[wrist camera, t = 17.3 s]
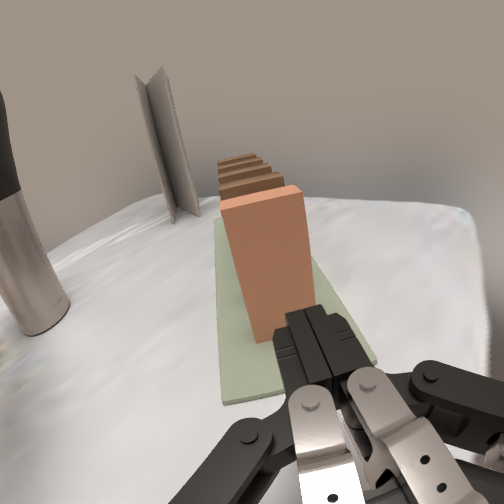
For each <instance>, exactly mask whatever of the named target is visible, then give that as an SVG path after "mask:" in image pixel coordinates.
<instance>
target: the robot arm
mask: <svg viewBox="0 0 504 504" xmlns="http://www.w3.org/2000/svg"><path fill="white" fill-rule="evenodd" d="M0 295H1V296H2V298H3V300H4V302H5V303H6V305H7V307H8V309H9V310H10V312H11V314H12V315H13V317H14V319H15V320H16V322H17V323H18V325H19V326H20V328H21V330H22V331H23V333H24V334H26V335H31V336H32V335H36V334H39V333H42V332H43V331H45V330H47V329H49V328H50V327H52V326H53V325H54V324H55V323H57V322H58V321H59V320H60V319H61V318H62V316H63V315H64V314H65V313H66V311H67V310H68V307H69V304H70V301H69V299H68V297H67V295H66V293H65V291H64V289H63V287H62V286H61V284H60V282H59V280H58V278H57V276H56V274H55V272H54V270H53V267H52V265H51V263H50V261H49V259H48V257H47V255H46V253H45V250H44V248H43V246H42V243H41V241H40V239H39V236H38V234H37V232H36V229H35V227H34V224H33V221H32V219H31V216H30V214H29V211H28V208H27V206H26V203H25V200H24V197H23V194H22V191H21V187H20V184H19V180H18V176H17V172H16V166H15V162H14V158H13V154H12V149H11V144H10V138H9V131H8V123H7V115H6V109H5V104H4V100H3V96H2V94H1V92H0ZM284 316H285V322H286V327H282V328H278V329H275V331H274V334H273V338H272V341H273V346H274V350H275V355H276V359H277V364H278V368H279V371H280V375H281V379H282V383H283V386H284V390H285V394H286V399H285V402H284V404H283V405H282V407H281V408H280V409H279V410H278V411H276V412H275V413H273V414H272V415H270V416H268V417H266V418H264V419H262V420H261V419H258V418H244V419H241V420H239V421H237V422H235V423H234V424H233V425H232V426H231V427H230V428H229V429H228V431H227V432H226V433H225V435H224V436H223V437H222V439H221V440H220V441H219V443H218V444H217V445H216V446H215V448H214V449H213V450H212V452H211V453H210V454H209V455H208V457H207V458H206V459H205V461H204V462H203V463H202V464H201V466H200V467H199V468H198V469H197V470H196V472H195V473H194V474H193V475H192V477H191V478H190V479H189V480H188V481H187V482H186V484H185V485H184V486H183V487H182V488H181V490H180V491H179V492H178V493H177V494H176V495H175V496H174V498H173V499H172V500H171V501H170V502H169V503H168V504H258V503H259V502H260V500H261V499H262V497H263V496H264V494H265V493H266V491H267V490H268V488H269V487H270V485H271V484H272V482H273V481H274V479H275V478H276V476H277V475H278V473H279V471H280V470H281V468H283V467H285V466H287V465H288V464H290V463H292V462H294V461H295V460H297V465H298V472H299V479H300V485H301V492H302V498H303V504H504V382H502V381H498V380H495V379H492V378H488V377H485V376H482V375H478V374H475V373H472V372H469V371H465V370H462V369H459V368H456V367H453V366H450V365H447V364H444V363H441V362H438V361H434V360H427V361H423V362H421V363H419V364H418V365H416V367H415V368H414V369H413V372H408V373H399V374H388V373H384V372H383V371H382V370H380V369H378V368H375V367H374V365H373V364H372V362H371V361H370V359H369V357H368V356H367V354H366V352H365V350H364V349H363V347H362V345H361V343H360V342H359V340H358V338H357V337H356V335H355V333H354V332H353V330H352V329H351V327H350V325H349V323H348V322H347V320H346V319H345V318H344V317H342V316H341V315H339V314H338V313H333V314H329V315H327V313H326V311H325V310H324V308H323V306H322V305H321V304H318V305H314V306H311V307H307V308H303V309H300V310H296V311H292V312H288V313H285V314H284ZM338 409H341V412H342V414H343V417H344V419H343V424H344V427H345V429H346V431H347V433H348V435H349V437H350V439H351V442H352V444H353V446H354V448H355V450H356V452H357V454H358V456H359V458H360V460H361V462H362V464H363V468H364V474H365V477H366V480H367V482H368V484H369V486H370V488H371V490H370V491H363V492H362V491H361V487H360V483H359V479H358V475H357V471H356V468H355V464H354V460H353V457H352V454H351V452H350V451H349V450H348V449H347V447H346V444H345V440H344V437H343V433H342V430H341V426H340V422H339V419H338V415H337V412H336V410H338ZM444 443H446V444H449V445H452V446H455V447H458V448H462V449H465V450H468V451H471V452H475V453H478V454H482V455H485V466H486V467H487V468H491V469H493V470H490V469H487V468H483V467H481V466H478V465H475V464H472V463H469V462H466V461H463V460H460V459H454V458H453V456H452V454H451V453H450V451H449V450H448V448H447V447H446V445H445V444H444ZM494 470H495V471H494Z"/></svg>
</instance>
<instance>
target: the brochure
mask: <svg viewBox="0 0 504 504" xmlns="http://www.w3.org/2000/svg"><path fill="white" fill-rule="evenodd" d="M134 80H135V84H136V89H137V93H138V98H139V103H140V107H141V111H142V115H143V119H144V124H145V127H146V131H147V136H148V139H149V143H150V147H151V151H152V155H153V158H154V162H155V165H156V169H157V173H158V176H159V180H160V183H161V187H162V190H163V193H164V197H165V200H166V203H167V207H168V210H169V213H170V216H171V219H172V223H173V224H175V217H176V209H177V206H178V207H180V208H182V209H184V210H186V211H188V212H190V213H192V214H194V215H196V216H198V217H200V211H199V203H198V197H197V194H196V190H195V186H194V183H193V179H192V175H191V171H190V167H189V163H188V160H187V156H186V152H185V148H184V144H183V140H182V136H181V132H180V128H179V123H178V119H177V115H176V111H175V107H174V102H173V99H172V94H171V89H170V85H169V80H168V78H167V75H166V73H165V70H164V68H163V66H162V67H161V68H160V69H159V70H158V71H157V73H156V74H155V75H154V76H153V77H152V78H151V79H150V81H149V82H148V83H147V84H146V85H145V84H144V83H143V82H142V81H140V80H139V78H138V77H137V76H136V75H134Z"/></svg>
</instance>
